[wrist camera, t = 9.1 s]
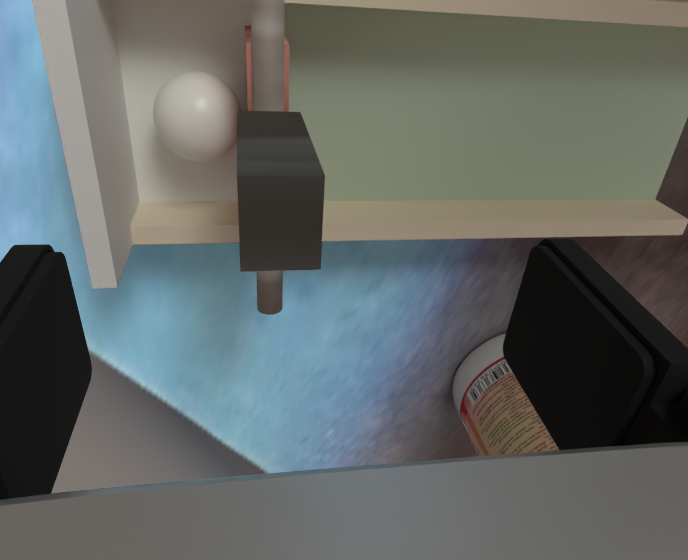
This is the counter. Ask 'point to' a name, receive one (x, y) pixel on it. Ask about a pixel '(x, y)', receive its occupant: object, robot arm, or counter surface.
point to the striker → (275, 165)
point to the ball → (196, 116)
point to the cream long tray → (382, 116)
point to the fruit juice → (497, 405)
